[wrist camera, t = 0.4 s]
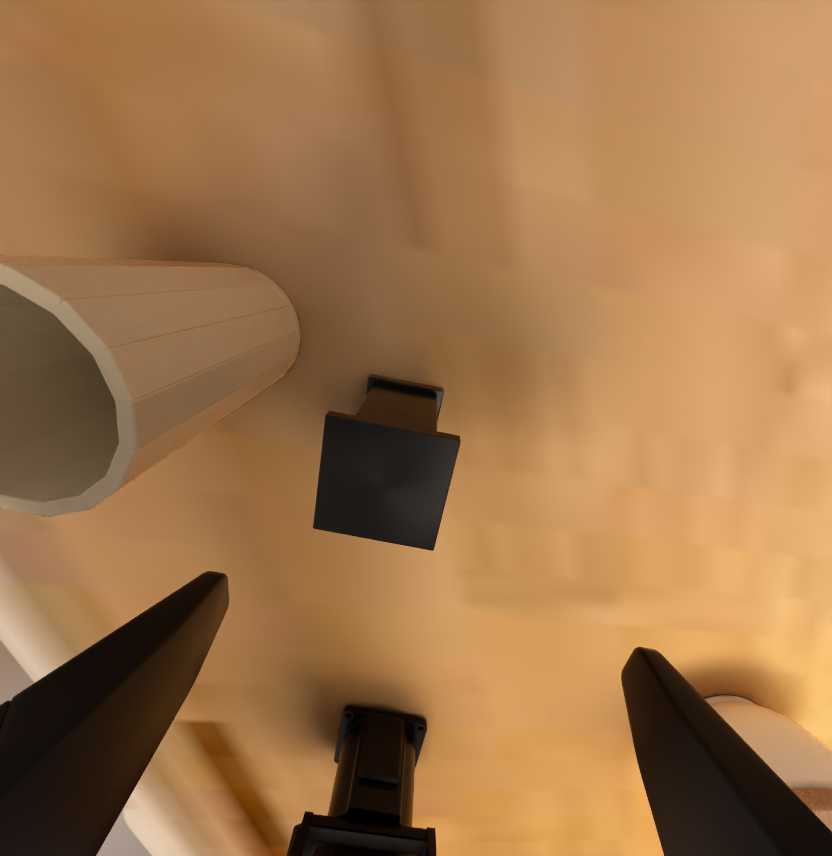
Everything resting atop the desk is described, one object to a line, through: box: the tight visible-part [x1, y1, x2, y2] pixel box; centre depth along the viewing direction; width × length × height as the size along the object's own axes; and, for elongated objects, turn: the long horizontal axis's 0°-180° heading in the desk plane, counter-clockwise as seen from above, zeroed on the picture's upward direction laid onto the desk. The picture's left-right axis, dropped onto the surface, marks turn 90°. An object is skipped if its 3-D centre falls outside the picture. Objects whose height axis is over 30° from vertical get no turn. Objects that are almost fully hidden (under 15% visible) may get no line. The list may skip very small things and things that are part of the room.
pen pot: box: [0, 255, 300, 517], centre depth 15 cm, size 6×6×12 cm
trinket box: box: [705, 695, 832, 831], centre depth 26 cm, size 11×11×9 cm
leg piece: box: [313, 374, 460, 551], centre depth 19 cm, size 5×5×8 cm
